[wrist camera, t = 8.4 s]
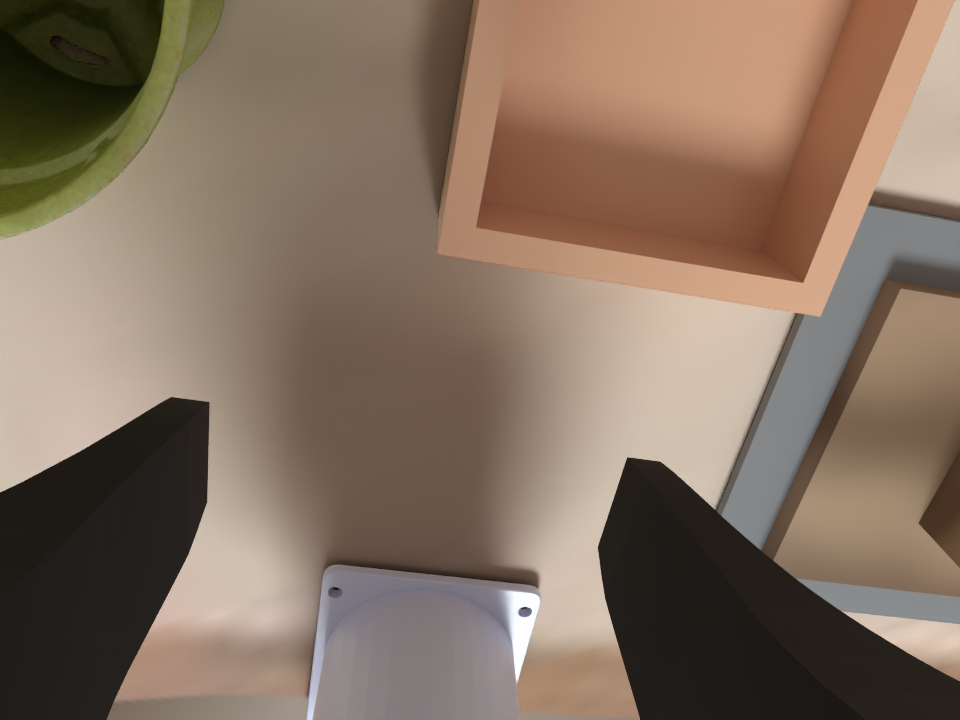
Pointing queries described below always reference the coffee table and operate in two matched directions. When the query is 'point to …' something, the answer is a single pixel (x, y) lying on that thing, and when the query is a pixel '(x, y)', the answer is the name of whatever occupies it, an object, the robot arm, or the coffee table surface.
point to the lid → (885, 457)
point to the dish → (680, 139)
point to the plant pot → (85, 95)
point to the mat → (813, 379)
